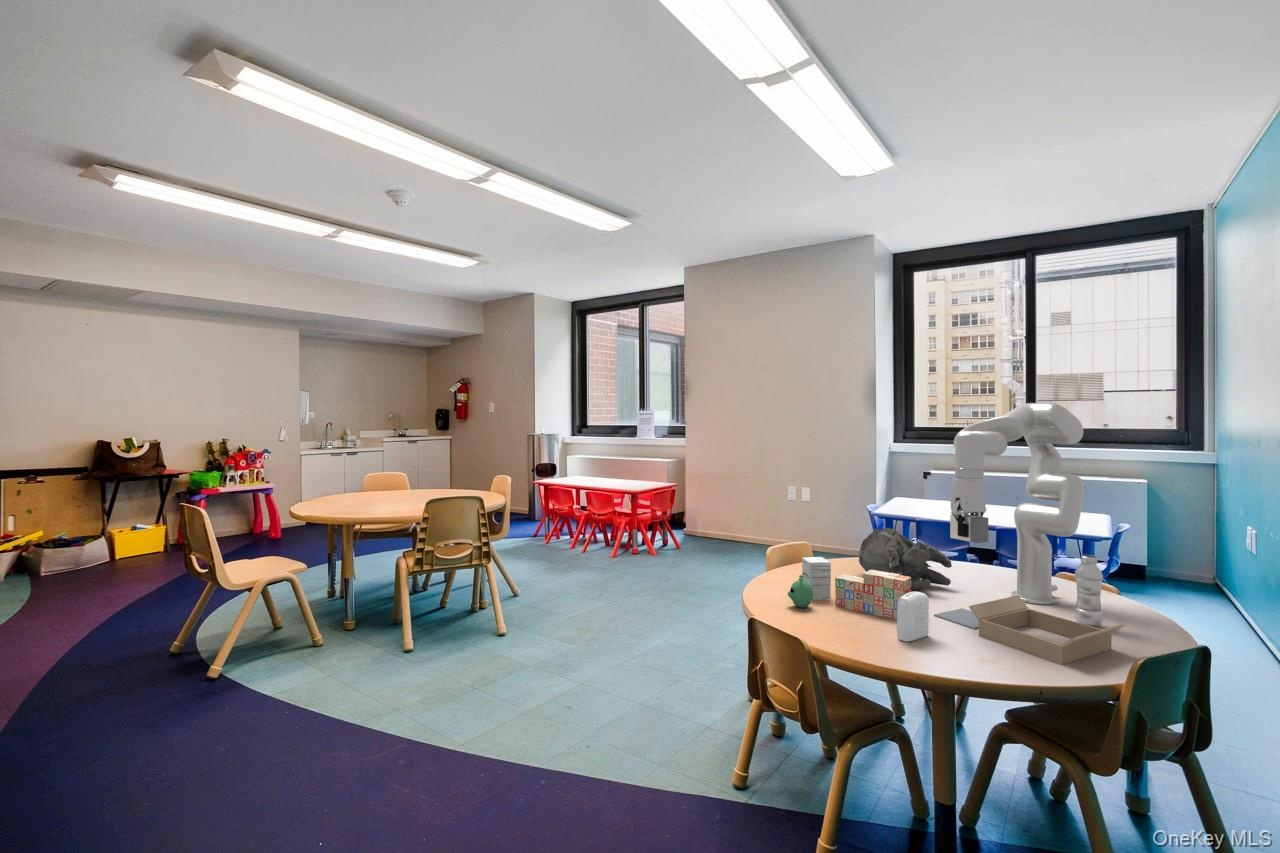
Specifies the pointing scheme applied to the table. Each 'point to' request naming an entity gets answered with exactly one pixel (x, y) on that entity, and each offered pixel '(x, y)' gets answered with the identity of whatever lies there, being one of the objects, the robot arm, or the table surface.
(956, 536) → the box
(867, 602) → the stack of blocks
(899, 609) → the photo printer
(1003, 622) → the carton
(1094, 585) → the plastic bottle
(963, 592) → the table surface
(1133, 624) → the table surface
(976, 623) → the mat
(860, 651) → the table surface
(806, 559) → the supplement box
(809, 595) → the alien toy
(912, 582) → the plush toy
